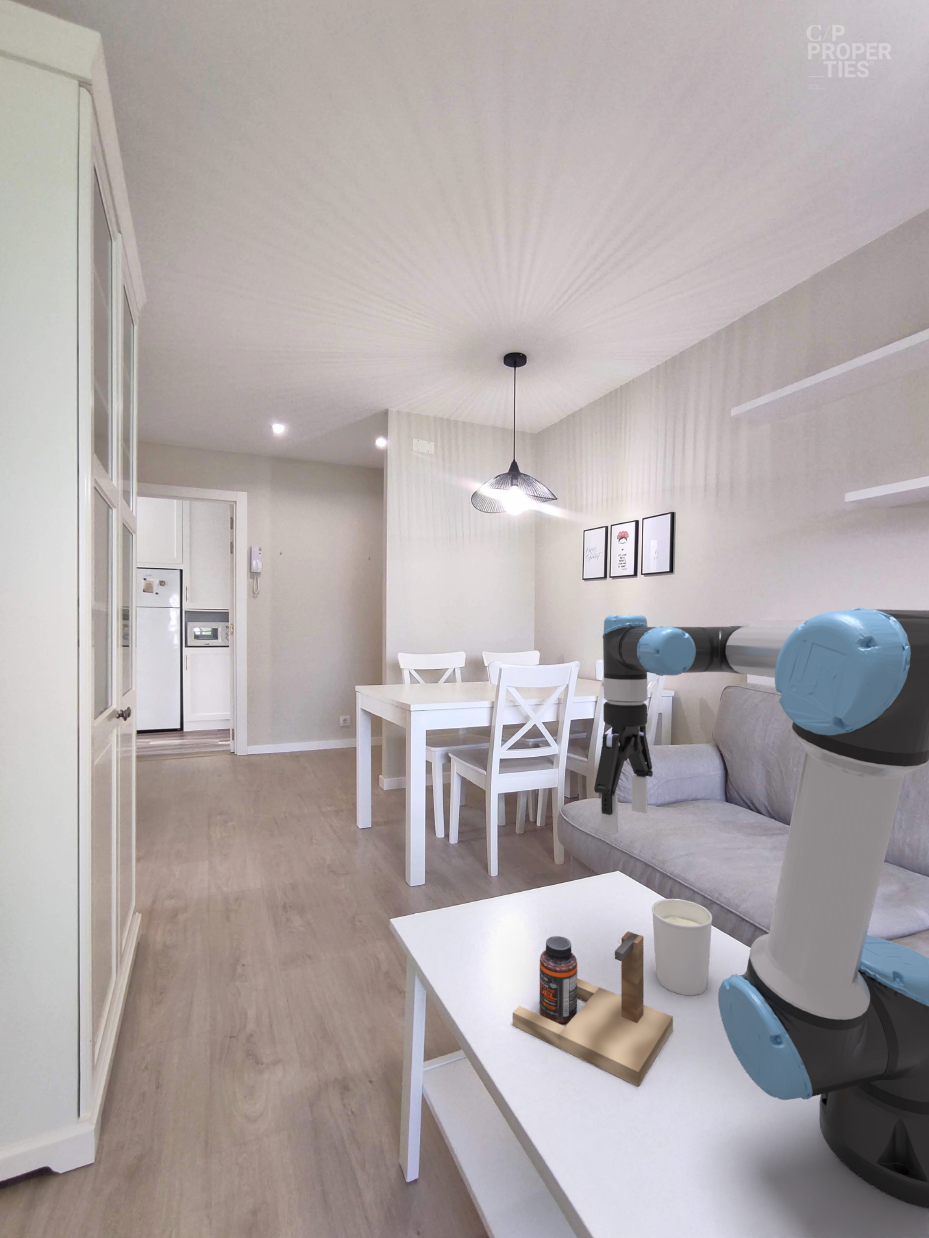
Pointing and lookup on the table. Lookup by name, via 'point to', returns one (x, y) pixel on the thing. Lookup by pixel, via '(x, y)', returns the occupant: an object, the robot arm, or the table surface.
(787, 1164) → the table surface
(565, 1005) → the supplement bottle
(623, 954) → the hook post
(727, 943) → the table surface
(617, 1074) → the oak forked base
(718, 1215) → the table surface
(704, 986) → the candle holder
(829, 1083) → the robot arm
